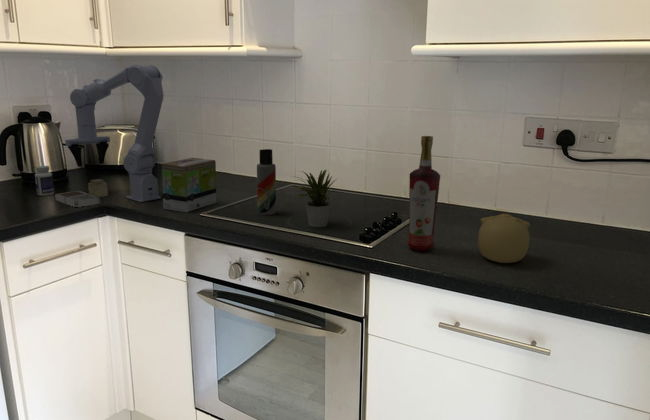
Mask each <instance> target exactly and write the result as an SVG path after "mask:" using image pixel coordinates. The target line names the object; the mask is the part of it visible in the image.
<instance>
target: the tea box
mask: <svg viewBox="0 0 650 420" xmlns="http://www.w3.org/2000/svg"><path fill="white" fill-rule="evenodd" d="M216 162H217V161H216V159H208V158H207V159H206V158H198V157H189V158H184V159H180V160H174V161H169V162H163V163H161V178H162V182H161V183H162V203H163V204H162V205H163V209H165V210H169V211H175V212H179V213H180V212H182V213H189V212H192V211H195V210H197V209H201V208H203V207H206V206H210V205H214V204H217V171H216V170H217V169H216V167H217V166H216V164H217V163H216Z"/></svg>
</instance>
